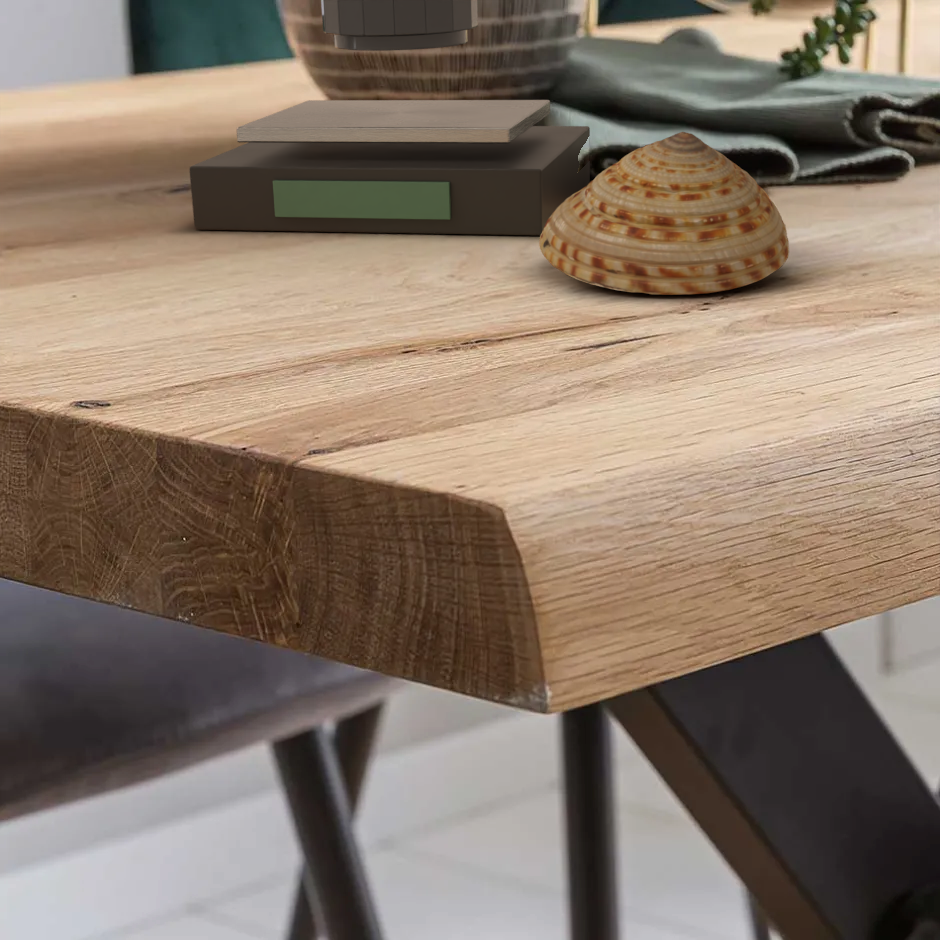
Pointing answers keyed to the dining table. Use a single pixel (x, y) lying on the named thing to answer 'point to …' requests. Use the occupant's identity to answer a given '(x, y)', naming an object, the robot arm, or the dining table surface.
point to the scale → (392, 185)
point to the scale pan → (397, 121)
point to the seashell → (668, 224)
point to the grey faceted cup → (398, 23)
